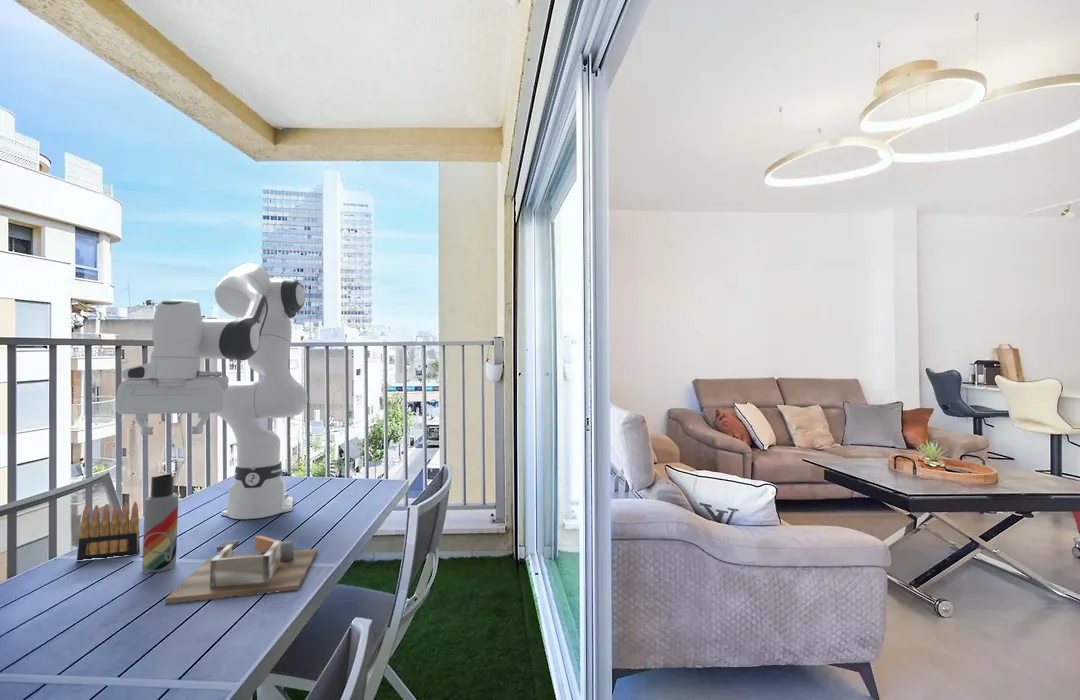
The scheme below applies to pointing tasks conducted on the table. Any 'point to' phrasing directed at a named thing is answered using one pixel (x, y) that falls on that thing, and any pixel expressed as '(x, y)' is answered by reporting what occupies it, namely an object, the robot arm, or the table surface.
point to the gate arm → (265, 543)
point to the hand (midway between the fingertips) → (172, 434)
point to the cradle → (243, 574)
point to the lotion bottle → (160, 525)
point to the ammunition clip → (109, 533)
